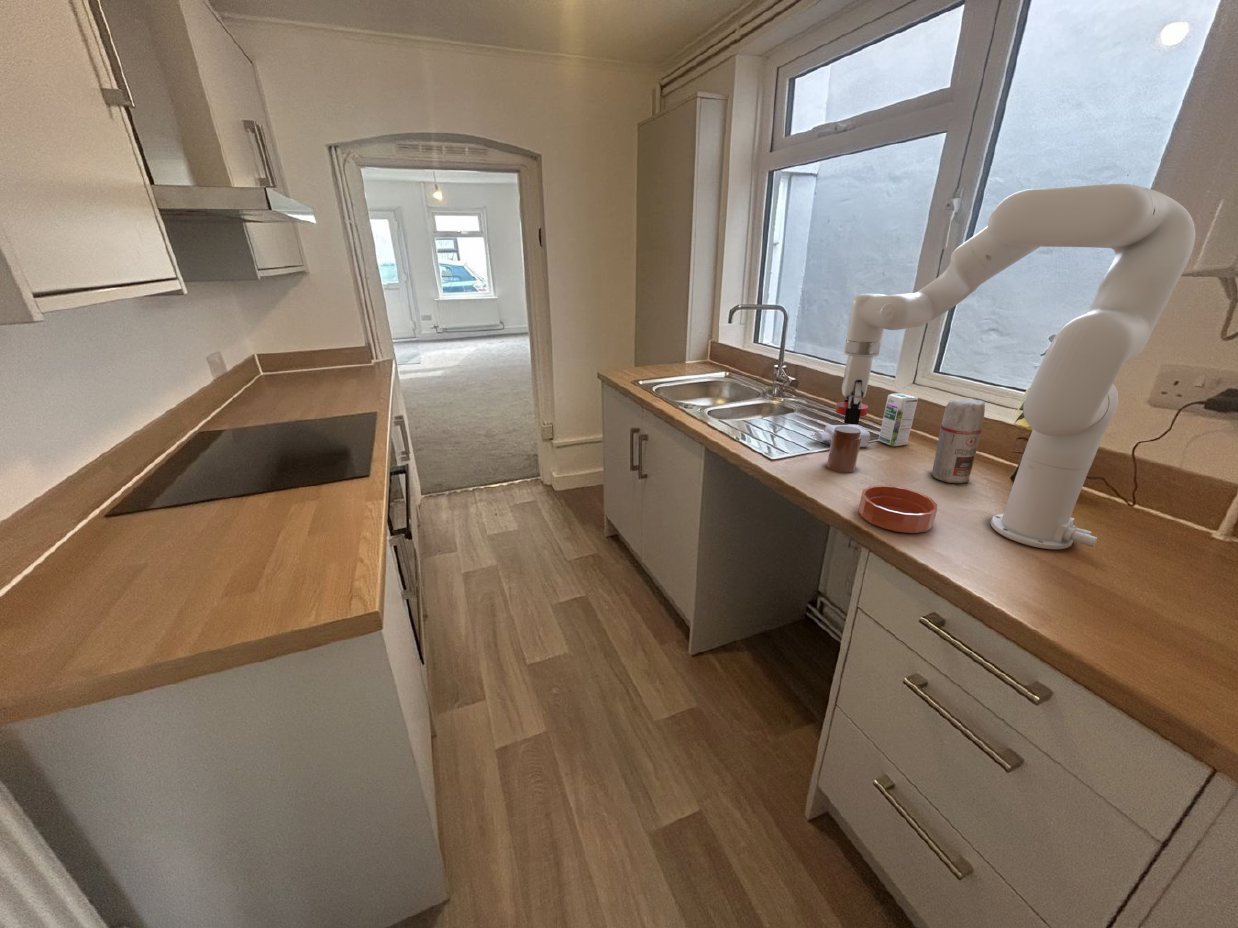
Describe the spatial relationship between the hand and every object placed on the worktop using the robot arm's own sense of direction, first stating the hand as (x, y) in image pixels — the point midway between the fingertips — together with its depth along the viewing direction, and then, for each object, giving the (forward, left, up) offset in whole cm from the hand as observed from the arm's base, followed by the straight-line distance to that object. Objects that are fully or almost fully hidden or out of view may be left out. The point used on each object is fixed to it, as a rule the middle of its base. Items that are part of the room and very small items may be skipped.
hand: (850, 419), depth 121 cm
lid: (0, 0, +3) cm, 3 cm away
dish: (-22, +17, -13) cm, 31 cm away
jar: (0, 0, -13) cm, 13 cm away
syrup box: (+1, -30, -14) cm, 33 cm away
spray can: (-20, -15, -14) cm, 28 cm away
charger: (+11, -16, -14) cm, 24 cm away
